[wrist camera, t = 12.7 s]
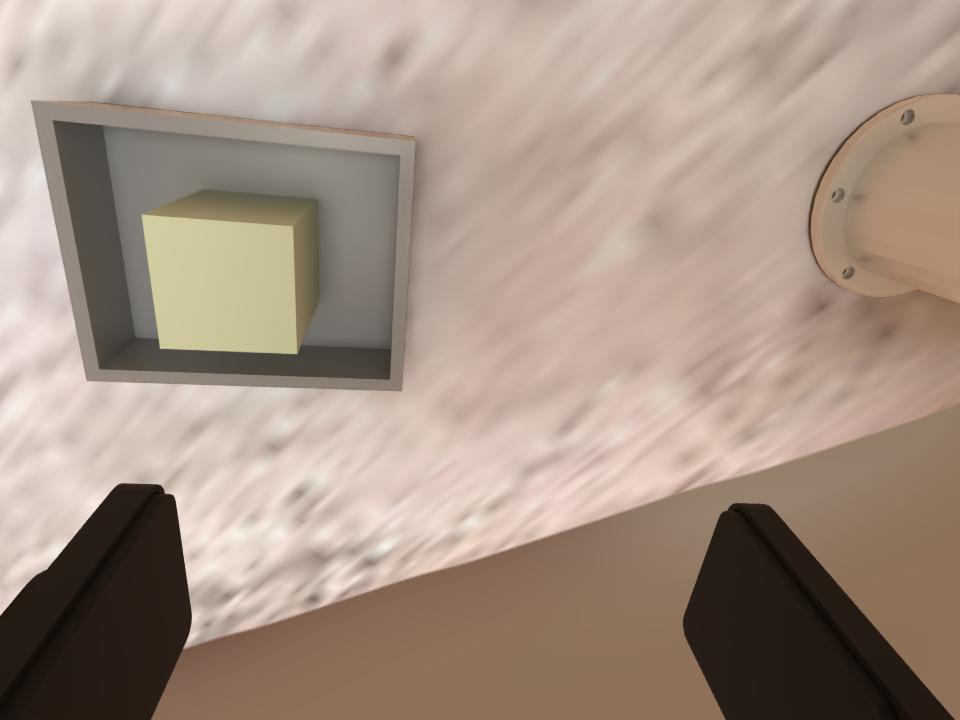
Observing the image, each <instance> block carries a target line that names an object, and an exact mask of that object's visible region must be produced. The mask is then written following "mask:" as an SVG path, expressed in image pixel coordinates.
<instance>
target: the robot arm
mask: <svg viewBox="0 0 960 720" xmlns="http://www.w3.org/2000/svg"><path fill="white" fill-rule="evenodd" d="M811 239H812V245H813V251H814V254H815V256H816V259H817V261H818V264H819V266H820V267H821V268H822V270H823V271H824V272H825V274H826V275H827V277H829V278H830V279H831V280H832V281H834V282H835V283H836V284H837V285H839V286H841V287H843V288H845V289H847V290H850V291H852V292H854V293H858V294H861V295H864V296H869V297H889V296H896V295H901V294H904V293H907V292H910V291H913V290H916V289H919V290H922V291H925V292H928V293H931V294H934V295H937V296H940V297H942V298H945V299H948V300H951V301H954V302H957V303H960V95H955V94H933V95H923V96H916V97H913V98H910V99H907V100H904V101H900V102H898V103H896V104H894V105H892V106H890V107H888V108H887V109H885V110H883V111H881V112H879V113H878V114H877V115H875V116H874V117H873V118H871V119H870V120H869V121H867V122H866V123H865V124H863V125H862V126H861V127H860V128H859V129H858V130H857V131H856V132H855V133H854V134H853V135H852V136H851V137H850V138H849V139H848V140H847V141H846V143H845V144H844V145H843V147H842V148H841V149H840V151H839V152H838V153H837V155H836V156H835V157H834V159H833V160H832V162H831V164H830V166H829V168H828V169H827V171H826V173H825V175H824V177H823V179H822V181H821V184H820V186H819V189H818V192H817V194H816V197H815V202H814V206H813V211H812V216H811ZM191 621H192V612H191V605H190V598H189V591H188V584H187V577H186V570H185V563H184V556H183V549H182V542H181V535H180V528H179V521H178V514H177V507H176V501H175V497H174V496H173V495H171V494H165V492H164V489H163V488H162V486H161V485H158V484H127V483H122V484H119V485H117V486H116V487H115V488H114V489H113V490H112V491H111V492H110V493H109V495H108V496H107V497H106V498H105V500H104V501H103V502H102V503H101V504H100V506H99V507H98V508H97V509H96V510H95V512H94V513H93V514H92V515H91V517H90V518H89V519H88V520H87V521H86V523H85V524H84V525H83V526H82V528H81V529H80V530H79V531H78V532H77V534H76V535H75V536H74V537H73V539H72V540H71V541H70V542H69V543H68V545H67V546H66V547H65V548H64V549H63V551H62V552H61V553H60V554H59V556H58V557H57V558H56V559H55V560H54V562H53V563H52V564H51V565H50V567H49V568H48V569H47V570H45V571H43V572H41V573H39V574H37V575H36V576H35V577H34V578H33V579H32V580H31V581H30V582H29V583H28V584H27V585H26V586H25V587H24V588H23V589H22V591H21V592H20V593H19V594H18V595H17V597H16V598H15V599H14V600H13V601H12V603H11V604H10V605H9V606H8V607H7V608H6V610H5V611H4V612H3V613H2V614H1V616H0V720H151V718H152V716H153V714H154V712H155V709H156V707H157V705H158V703H159V701H160V698H161V696H162V694H163V692H164V689H165V687H166V685H167V683H168V681H169V678H170V676H171V674H172V672H173V670H174V667H175V665H176V663H177V661H178V658H179V656H180V653H181V652H182V650H183V647H184V645H185V643H186V641H187V638H188V635H189V632H190V628H191ZM683 628H684V633H685V637H686V639H687V641H688V644H689V646H690V647H691V650H692V651H693V654H694V656H695V658H696V660H697V662H698V664H699V666H700V668H701V670H702V672H703V674H704V676H705V678H706V680H707V682H708V685H709V686H710V689H711V691H712V693H713V695H714V697H715V699H716V701H717V703H718V705H719V707H720V709H721V711H722V713H723V715H724V717H725V719H726V720H954V718H953V717H952V716H951V715H950V714H949V713H948V711H947V710H946V709H945V708H944V707H943V706H942V704H941V703H940V702H939V701H938V700H937V699H936V697H935V696H934V695H933V694H932V693H931V692H930V691H929V689H928V688H927V687H926V686H925V685H924V684H923V682H922V681H921V680H920V679H919V678H918V677H917V675H916V674H915V673H914V672H913V671H912V670H911V669H910V667H909V666H908V665H907V664H906V663H905V662H904V660H903V659H902V658H901V657H900V656H899V655H898V653H897V652H896V651H895V650H894V649H893V648H892V646H891V645H890V644H889V643H888V642H887V641H886V640H885V638H884V637H883V636H882V635H881V634H880V633H879V631H878V630H877V629H876V628H875V627H874V626H873V624H872V623H871V622H870V621H869V620H868V619H867V618H866V616H865V615H864V614H863V613H862V612H861V611H860V610H859V608H858V607H857V606H856V605H855V604H854V603H853V601H852V600H851V599H850V598H849V597H848V596H847V594H846V593H845V592H844V591H843V590H842V589H841V587H839V585H838V584H837V583H836V582H835V581H834V579H833V578H832V577H831V576H830V575H829V574H828V572H827V571H826V570H825V569H824V568H823V567H822V565H821V564H820V563H819V562H818V561H817V560H816V558H815V557H814V556H813V555H812V554H811V553H810V552H809V550H808V549H807V548H806V547H805V546H804V544H803V543H802V542H801V541H800V540H799V539H798V538H797V536H796V535H795V534H794V533H793V532H792V531H791V530H790V528H789V527H788V526H787V525H786V524H785V522H784V521H783V520H782V519H781V518H780V517H779V516H778V514H777V513H776V512H775V511H774V510H773V509H772V508H771V507H770V506H768V505H765V504H747V503H746V504H745V503H735V504H732V505H731V506H730V507H729V509H728V510H727V511H724V512H723V513H721V515H720V517H719V519H718V522H717V525H716V528H715V530H714V533H713V536H712V539H711V542H710V544H709V547H708V550H707V553H706V555H705V558H704V561H703V564H702V567H701V570H700V573H699V575H698V578H697V581H696V584H695V586H694V589H693V592H692V595H691V597H690V600H689V603H688V606H687V609H686V612H685V614H684V618H683Z"/></svg>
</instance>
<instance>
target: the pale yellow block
mask: <svg viewBox="0 0 960 720" xmlns="http://www.w3.org/2000/svg"><path fill="white" fill-rule="evenodd" d="M142 222H143V229H144V237H145V244H146V251H147V258H148V265H149V272H150V280H151V287H152V294H153V301H154V308H155V316H156V323H157V330H158V337H159V344H160V349H182V350H207V351H232V352H257V353H282V354H297V353H298V351H299V348H300V346H301V343H302V341H303V339H304V336H305V334H306V331H307V329H308V327H309V324H310V322H311V319H312V317H313V315H314V312H315V310H316V307H317V305H318V303H319V257H318V199H312V198H300V197H288V196H277V195H265V194H253V193H241V192H230V191H218V190H206V189H203V190H200V191H198V192H196V193H193V194H191V195H188V196H186V197H183V198H181V199H179V200H176V201H174V202H171V203H169V204H166V205H164V206H162V207H159V208H157V209H154V210H152V211H149V212H147V213H144V214H142Z"/></svg>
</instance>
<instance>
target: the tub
mask: <svg viewBox="0 0 960 720" xmlns="http://www.w3.org/2000/svg"><path fill="white" fill-rule="evenodd" d="M31 103H32V108H33V113H34V118H35V123H36V128H37V134H38V139H39V144H40V149H41V154H42V159H43V164H44V169H45V174H46V179H47V184H48V189H49V194H50V199H51V204H52V209H53V214H54V219H55V224H56V229H57V234H58V239H59V244H60V249H61V254H62V259H63V264H64V269H65V274H66V279H67V284H68V289H69V294H70V299H71V304H72V309H73V314H74V319H75V324H76V329H77V334H78V339H79V344H80V349H81V354H82V359H83V364H84V369H85V374H86V379H87V381H103V382H134V383H165V384H195V385H226V386H257V387H287V388H318V389H349V390H380V391H402V382H403V364H404V346H405V327H406V309H407V291H408V273H409V255H410V237H411V218H412V200H413V182H414V164H415V146H416V141H415V139H414V137H411V136H402V135H392V134H383V133H374V132H364V131H355V130H346V129H337V128H327V127H318V126H309V125H299V124H290V123H281V122H272V121H262V120H253V119H244V118H235V117H225V116H216V115H207V114H197V113H188V112H179V111H170V110H160V109H151V108H142V107H132V106H123V105H114V104H105V103H95V102H71V101H31ZM203 189H206V190H218V191H230V192H241V193H253V194H265V195H277V196H288V197H300V198H312V199H318V257H319V303H318V305H317V307H316V310H315V312H314V315H313V317H312V319H311V322H310V324H309V327H308V329H307V331H306V334H305V336H304V339H303V341H302V343H301V346H300V348H299V351H298V353H297V354H282V353H257V352H232V351H207V350H182V349H160V344H159V337H158V330H157V323H156V316H155V308H154V301H153V294H152V287H151V280H150V272H149V265H148V258H147V251H146V244H145V237H144V229H143V222H142V214H144V213H147V212H149V211H152V210H154V209H157V208H159V207H162V206H164V205H166V204H169V203H171V202H174V201H176V200H179V199H181V198H183V197H186V196H188V195H191V194H193V193H196V192H198V191H200V190H203Z"/></svg>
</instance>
